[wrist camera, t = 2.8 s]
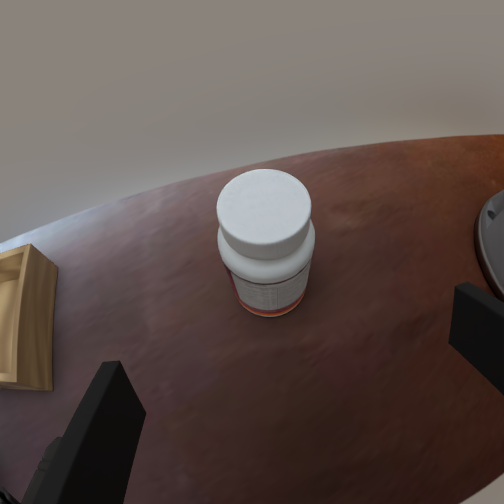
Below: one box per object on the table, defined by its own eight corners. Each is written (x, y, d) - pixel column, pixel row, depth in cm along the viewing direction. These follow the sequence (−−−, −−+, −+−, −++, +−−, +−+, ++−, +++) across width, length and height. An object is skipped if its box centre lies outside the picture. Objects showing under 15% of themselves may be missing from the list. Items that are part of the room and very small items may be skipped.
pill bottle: (243, 247, 28) (223, 156, 18) (311, 258, 27) (325, 168, 17) (226, 311, 25) (190, 241, 15) (299, 325, 24) (313, 261, 14)
